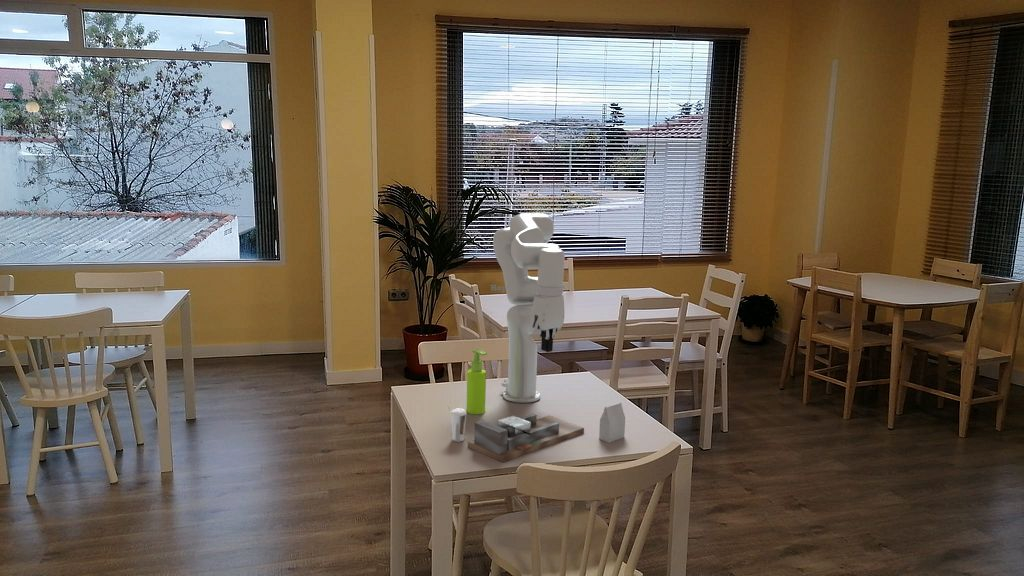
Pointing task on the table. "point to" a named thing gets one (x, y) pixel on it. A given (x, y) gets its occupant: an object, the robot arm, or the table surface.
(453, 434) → the milkshake
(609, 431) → the tea bag
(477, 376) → the soap dispenser
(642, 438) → the table surface
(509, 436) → the slider
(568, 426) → the gauge bench
